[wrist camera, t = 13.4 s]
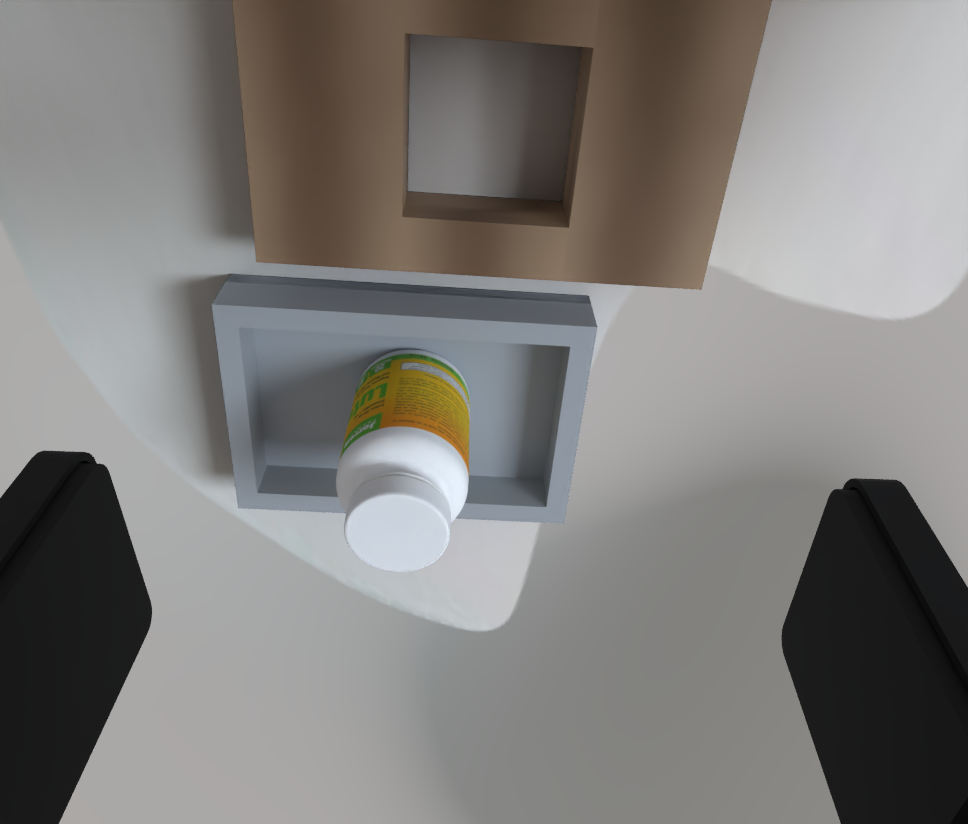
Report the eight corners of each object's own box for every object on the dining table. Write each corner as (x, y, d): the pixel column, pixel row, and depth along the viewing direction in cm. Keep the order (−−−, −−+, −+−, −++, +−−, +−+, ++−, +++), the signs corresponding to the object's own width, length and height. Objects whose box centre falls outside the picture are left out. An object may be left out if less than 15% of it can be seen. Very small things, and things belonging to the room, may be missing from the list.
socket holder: (749, -23, 29) (774, -13, 27) (685, 260, 35) (701, 289, 33) (248, -63, 28) (226, -57, 26) (272, 233, 34) (256, 261, 32)
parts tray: (588, 295, 36) (597, 327, 34) (558, 485, 42) (564, 523, 40) (230, 274, 35) (211, 304, 33) (252, 470, 42) (238, 508, 39)
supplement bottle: (381, 328, 36) (353, 458, 28) (489, 372, 37) (492, 508, 29) (340, 417, 39) (304, 560, 31) (442, 455, 40) (433, 602, 32)
